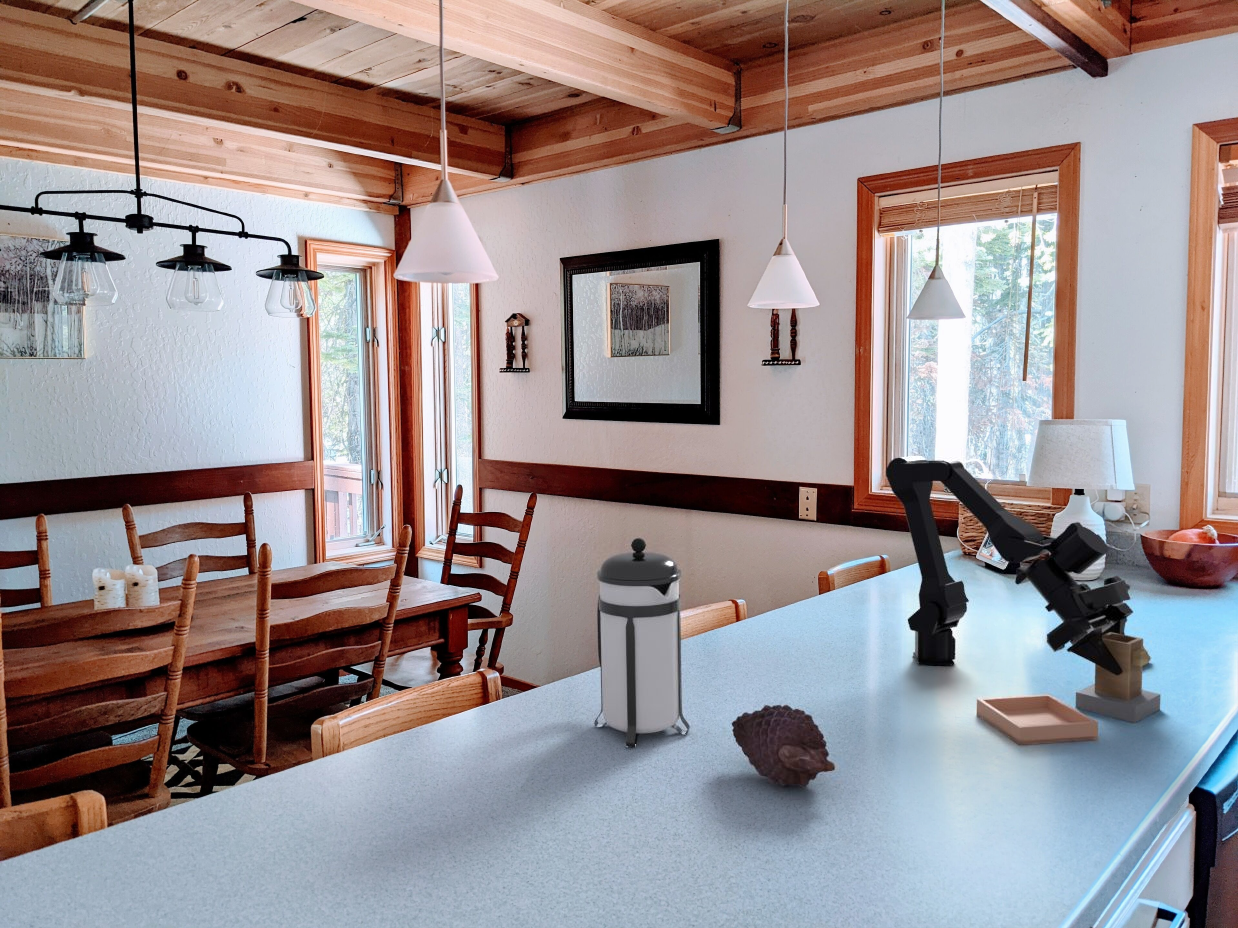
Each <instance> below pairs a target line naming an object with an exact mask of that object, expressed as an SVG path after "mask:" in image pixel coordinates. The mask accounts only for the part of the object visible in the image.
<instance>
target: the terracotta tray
mask: <svg viewBox="0 0 1238 928" xmlns="http://www.w3.org/2000/svg"><path fill="white" fill-rule="evenodd" d="M976 715H977V716H978V717H979V718H981V720H983V721H985V722H987V724H989V725H990V726H992V727H993V728H995V729H997V730H998V731H999V732H1000V733H1002V734H1003V735H1004V736H1006V737H1007V738H1009V739H1010V740H1012V741H1013V742H1014V743H1016V744H1017V745H1019V746H1027V745H1039V744H1042V745H1043V744H1055V743H1056V744H1057V743H1069V742H1070V743H1071V742H1072V743H1073V742H1084V741H1098V740H1099V722H1098V721H1096V720H1095V719H1093V718H1091V717H1089V716H1088V715H1086V714H1084V713H1082V712H1081V711H1079V710H1077V709H1076V708H1074V707H1073V706H1070V705H1069V704H1067V703H1065V702H1063V701H1062V700H1059V699H1058V698H1056V697H1054V696H1053V695H1052V694H1050V693H1049V694H1036V695H1034V694H1033V695H1030V694H1029V695H1017V696H1000V697H985V698H984V697H983V698H982V697H981V698H977V699H976Z"/></svg>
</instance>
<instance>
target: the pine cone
mask: <svg viewBox="0 0 1238 928" xmlns="http://www.w3.org/2000/svg"><path fill="white" fill-rule="evenodd" d="M762 707H763V708H761V710H760V709H759V710H754V711H753V712H751V713H749V712H747V711H746V712H743V713H742V714H741V715H739V716H737V717H736V719H735V720H733V721H732V722H731V727H732V730H731V731H732V735H733V738H735V742H736V744H737V746H738V747H740V748H741V750H742V753H743V754H744V755H745V757H747V758H748V761H749V764H750V765H751V766H753V767H754V769H755V770H756V772H757V774H758V775H759V776H760V777H766V779H767V780H768V782H769V783H771V784H777V783H778V784H780V785H781V786H783V787H784V786H787V785H790V786H793V785H794V787H797V786H801V787H807V785H809V783H810V781H814V780H815V779H816V778H817V776H818V774H819V773H827V772H833V771H835V770H836V766H835V763H834V762H832V761H831V760H828V757H829V755H830V752H829V751H828V749H827V748H826V747H827V741H826V740H825V737H824V734H823V733H822V731H821V730H820V729H819V725H817V723H815V722H814V719H813V716H812V714H808V713H806V711H805V710H802V709H799V708H794V709H793V708H792V707H791V706H789V705H788V704H784V705H781V704H776V705H773V706H771V705H768V704H765V705H763V706H762Z"/></svg>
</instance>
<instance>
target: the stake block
mask: <svg viewBox="0 0 1238 928" xmlns="http://www.w3.org/2000/svg"><path fill="white" fill-rule="evenodd" d="M1075 708H1077V709H1081V710H1084V711H1088V712H1092V713H1096V714H1100V715H1103V716H1107V717H1110V718H1115V719H1117V720H1118V719H1119V720H1122V721H1126V722H1129V723H1133V724H1136V723H1138V722H1140V721H1142V720H1143V719H1146V718H1147V717H1149V716H1151V715H1153V714H1154V713H1156V712H1158V711H1160V710H1161V693H1157V692H1153V691H1149V690H1145V689H1142V694H1140V695H1138V696H1136V697H1134V698H1132V699H1130V700H1128V701H1126V700H1122V699H1118V698H1114V697H1110V696H1106V695H1102V694H1098V693H1095V683H1092V684H1090V685H1088V686H1086V687H1084V688H1081V689H1080V690H1077V691H1076V692H1075Z"/></svg>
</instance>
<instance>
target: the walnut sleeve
mask: <svg viewBox="0 0 1238 928" xmlns="http://www.w3.org/2000/svg"><path fill="white" fill-rule="evenodd" d="M1102 641H1103V642H1104V644H1105V645H1106V647H1107V648H1108V650H1109V651H1110V652H1111V654H1112V655H1113V657H1114V658H1115V660H1116V661H1117V663H1118V664H1119V666H1120V667H1121V669H1122V671H1123V672H1122V673H1121V674H1120V675H1115V674H1113V673H1111V672H1109V671H1108V670H1106V669H1104V668H1102V667H1100V666H1098V665H1096V664H1095V663H1094V665H1095V667H1094V684H1095V693H1098V694H1102V695H1106V696H1110V697H1114V698H1118V699H1122V700H1126V701H1128V700H1130V699H1132V698H1134V697H1136V696H1138V695H1140V694H1142V690H1143V689H1142V688H1143V667H1144V666H1146V665H1147V664H1148V663H1147V654H1149V652H1148V650H1146V649H1145V650H1146V651H1145V650H1143V646H1144V638H1142V637H1136V636H1133V635H1132V636H1131V635H1128V634H1127V635H1126V634H1125V635H1123V634H1118V633H1113V632H1109V633H1107V634H1104V635H1102ZM1145 664H1146V665H1145ZM1143 665H1144V666H1143Z"/></svg>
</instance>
